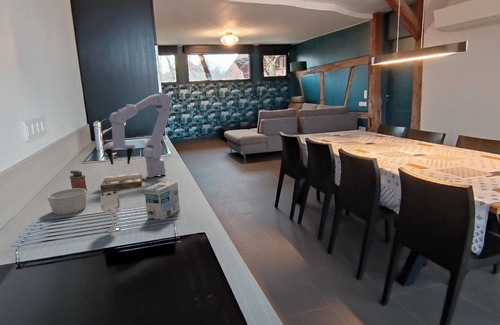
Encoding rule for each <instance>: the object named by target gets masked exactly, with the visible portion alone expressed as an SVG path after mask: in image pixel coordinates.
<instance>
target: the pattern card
mask: <svg viewBox="0 0 500 325" xmlns="http://www.w3.org/2000/svg"><path fill="white" fill-rule="evenodd" d="M137 181H140V179H134V180H126V181H117V182H107V183H103V182H102V183H103V184H102V183H101V184H102V185H111V184H120V183H128V182H137Z"/></svg>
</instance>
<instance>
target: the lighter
mask: <svg viewBox="0 0 500 325" xmlns="http://www.w3.org/2000/svg"><path fill="white" fill-rule="evenodd" d="M69 180H70V185H71V189H75V188H82V189H86V191H87V192H88V189H87V182H86V175H85V174H84V175H83V172H82V171H80V170H70V175H69Z"/></svg>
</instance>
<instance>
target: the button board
mask: <svg viewBox="0 0 500 325" xmlns="http://www.w3.org/2000/svg"><path fill="white" fill-rule="evenodd" d="M114 180H115V181H114V182H117V181H118V177H114ZM127 180H131V176H130V175H129V176H128V175H127ZM132 180H134V179H132ZM142 180H144V179H143V174H140V181H137V182H128V183H120V184H111V185H102V184H103V183H107V182H105V181H104V180H103V181H102V183H101V184H100V186H99V187H100V192H110V191H116V190H125V189H133V188H132V187H134V188H141V187H140V186H142V187H143V181H142ZM123 181H126V180H123Z"/></svg>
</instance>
